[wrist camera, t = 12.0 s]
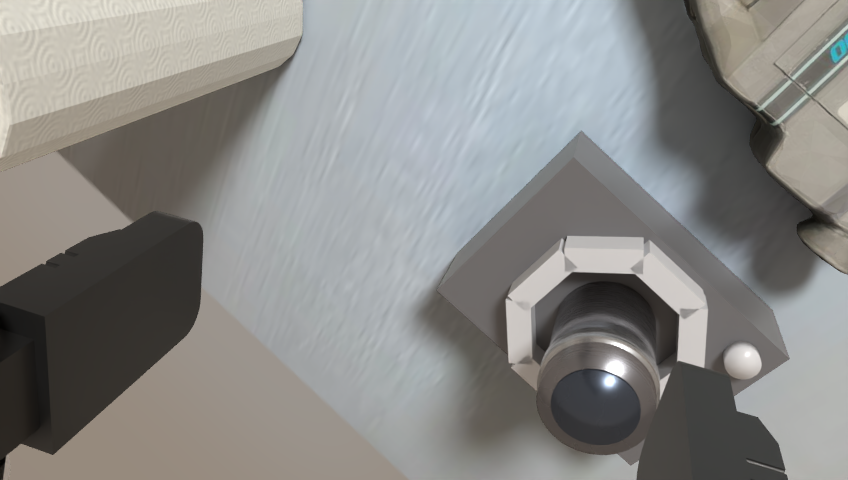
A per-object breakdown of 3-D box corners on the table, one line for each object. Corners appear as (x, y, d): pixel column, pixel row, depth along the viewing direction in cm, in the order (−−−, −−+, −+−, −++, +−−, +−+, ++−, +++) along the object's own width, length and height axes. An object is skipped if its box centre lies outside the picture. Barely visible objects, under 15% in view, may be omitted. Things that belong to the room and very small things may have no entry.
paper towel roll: (241, 87, 42) (-84, 216, 23) (186, -12, 41) (-207, 38, 22) (343, 32, 40) (69, 127, 21) (289, -77, 38) (-61, -84, 19)
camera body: (457, 252, 43) (429, 303, 37) (581, 130, 38) (570, 166, 32) (631, 411, 44) (630, 484, 38) (772, 310, 39) (795, 375, 33)
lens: (564, 267, 36) (544, 340, 30) (671, 292, 35) (675, 373, 28) (545, 355, 38) (522, 440, 32) (645, 380, 37) (642, 474, 31)
